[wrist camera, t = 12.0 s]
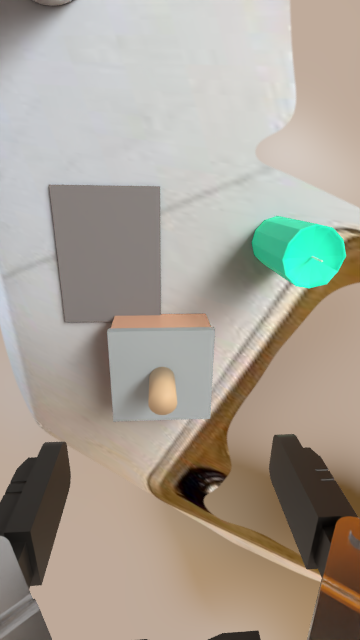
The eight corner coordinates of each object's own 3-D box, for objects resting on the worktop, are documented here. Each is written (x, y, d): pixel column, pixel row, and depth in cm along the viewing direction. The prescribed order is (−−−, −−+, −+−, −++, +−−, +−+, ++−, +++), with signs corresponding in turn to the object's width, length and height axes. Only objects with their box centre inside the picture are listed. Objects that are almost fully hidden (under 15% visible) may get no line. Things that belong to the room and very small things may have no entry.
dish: (115, 314, 42) (110, 329, 38) (205, 313, 43) (211, 328, 39) (119, 392, 47) (115, 414, 42) (202, 390, 47) (207, 412, 43)
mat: (50, 184, 36) (48, 184, 36) (159, 186, 37) (159, 186, 37) (65, 321, 42) (65, 322, 42) (160, 320, 43) (160, 321, 43)
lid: (108, 328, 38) (100, 352, 32) (213, 327, 38) (223, 350, 33) (114, 416, 42) (108, 451, 36) (208, 413, 43) (216, 446, 37)
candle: (242, 252, 41) (275, 276, 29) (268, 206, 39) (314, 212, 28) (282, 274, 42) (328, 304, 31) (309, 230, 40) (369, 245, 29)
